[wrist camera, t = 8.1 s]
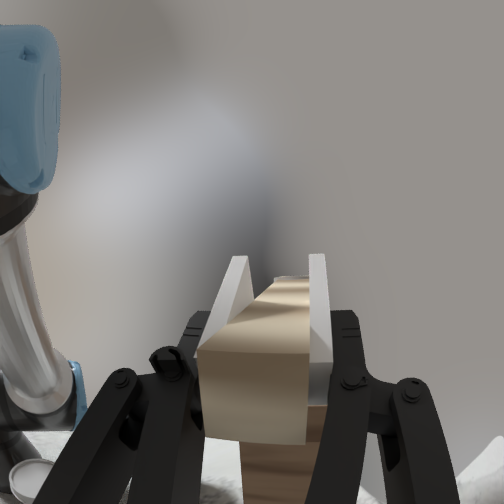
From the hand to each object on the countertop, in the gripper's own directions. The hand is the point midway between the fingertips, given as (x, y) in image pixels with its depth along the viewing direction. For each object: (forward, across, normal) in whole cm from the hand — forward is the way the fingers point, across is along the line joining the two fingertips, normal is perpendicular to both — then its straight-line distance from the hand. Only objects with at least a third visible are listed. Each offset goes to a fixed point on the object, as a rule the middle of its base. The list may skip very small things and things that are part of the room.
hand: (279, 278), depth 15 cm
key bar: (+2, 0, -6) cm, 6 cm away
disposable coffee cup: (-20, -29, -32) cm, 47 cm away
